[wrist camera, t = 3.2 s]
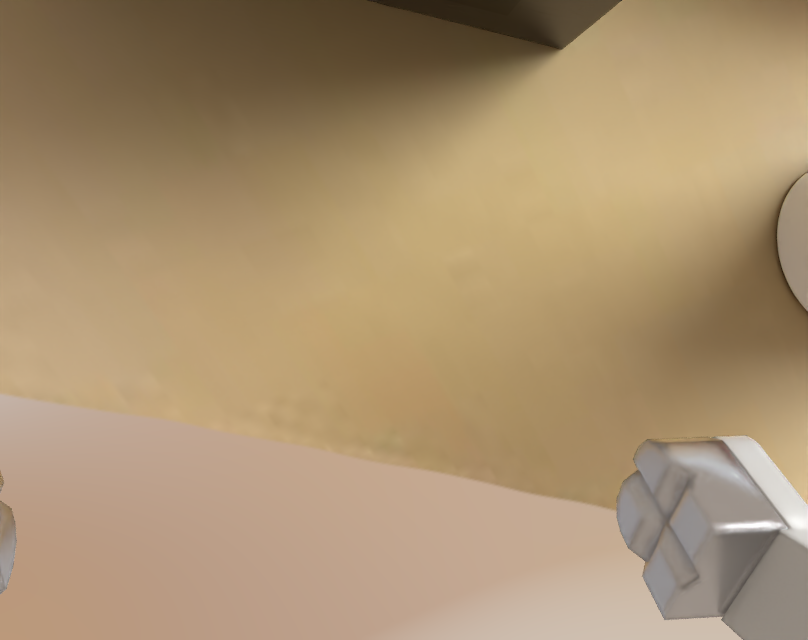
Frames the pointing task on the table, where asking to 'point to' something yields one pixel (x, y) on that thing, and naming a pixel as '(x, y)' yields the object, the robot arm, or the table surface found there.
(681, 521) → the robot arm
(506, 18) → the oven door
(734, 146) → the table surface
